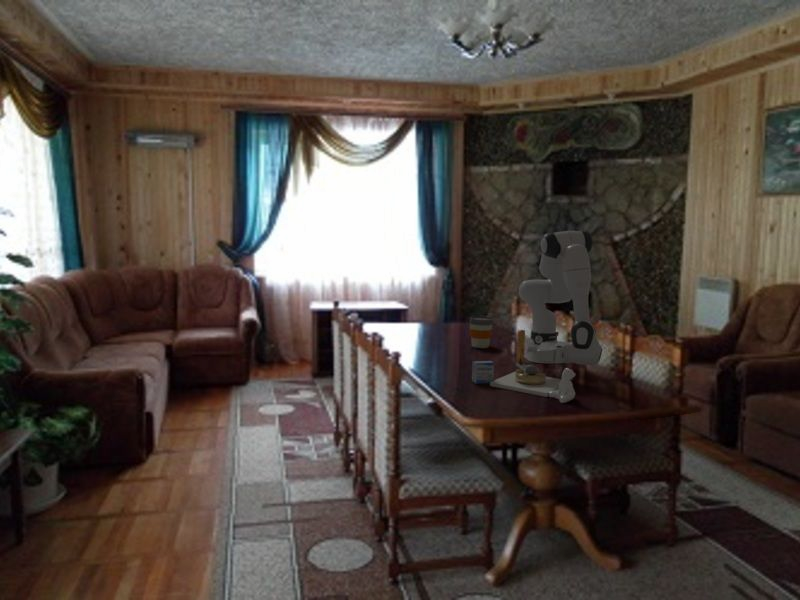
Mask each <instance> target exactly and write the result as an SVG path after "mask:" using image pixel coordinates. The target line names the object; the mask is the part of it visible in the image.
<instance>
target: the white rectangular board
mask: <svg viewBox="0 0 800 600" xmlns="http://www.w3.org/2000/svg"><path fill="white" fill-rule="evenodd" d="M525 365H526V373H527V374H536V369H537V365H535V364H525ZM515 377H516V370H515V371H513V372H511V373H509V374H506V375H504V376H501V377H499V378H496V379H493V381H492V382H490V383H489V386H490V387H492V388H493V387H494V388H500V389H503V390H509V391H514V392H519V393H524V394H529V395H535V396H539V397H544V398H547V397H549V392H551V391H558V390H559V383H560V382H561V379H562V378H556V377H555V378H554V377H550V376H546V382H545V384H542V385H526V384H521V383H518V382H516V381H515Z"/></svg>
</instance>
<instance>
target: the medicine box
mask: <svg viewBox="0 0 800 600" xmlns="http://www.w3.org/2000/svg"><path fill="white" fill-rule="evenodd" d="M471 363H472V365H471V366H472V367H471V381H472V382H473V384H475V385H484V384H485V385H486V384H490V382H492V381H494V373H495V372H494V371H495V362H493V361H492V360H478V361H477V360H476V361H473V360H472V362H471Z"/></svg>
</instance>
